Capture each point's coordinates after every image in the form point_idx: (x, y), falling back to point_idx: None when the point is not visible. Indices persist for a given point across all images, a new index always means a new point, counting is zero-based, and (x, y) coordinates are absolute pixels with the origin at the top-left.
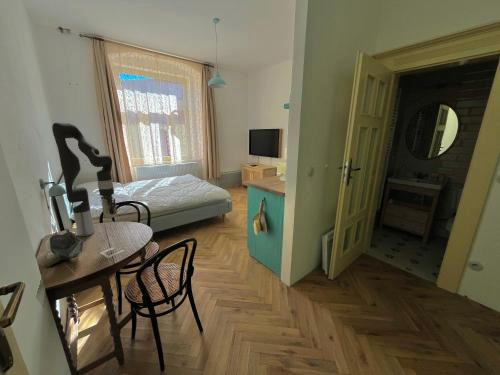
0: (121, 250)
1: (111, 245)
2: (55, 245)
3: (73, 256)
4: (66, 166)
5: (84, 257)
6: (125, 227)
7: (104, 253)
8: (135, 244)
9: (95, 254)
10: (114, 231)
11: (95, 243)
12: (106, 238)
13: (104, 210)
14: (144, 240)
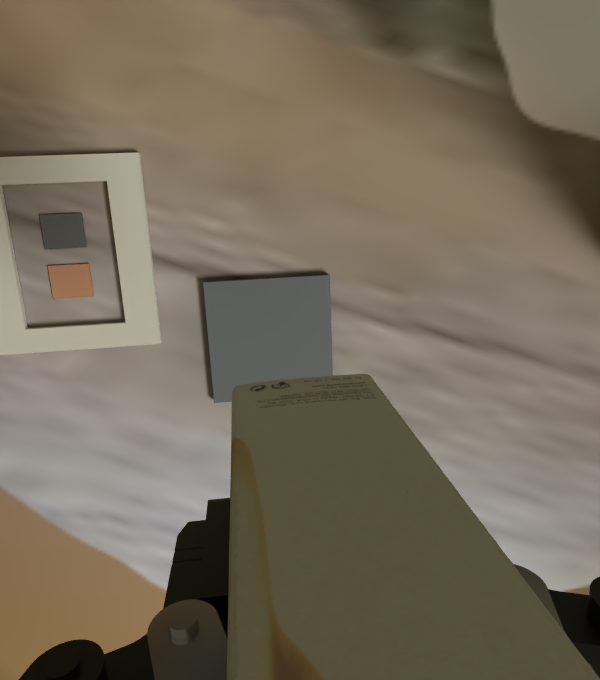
0: (16, 304)
1: (204, 284)
2: None
3: None
4: None
5: (171, 25)
6: (509, 515)
7: (83, 176)
8: (59, 436)
9: (151, 118)
10: (511, 419)
11: (398, 207)
12: (420, 314)
13: (313, 466)
14: (77, 519)
